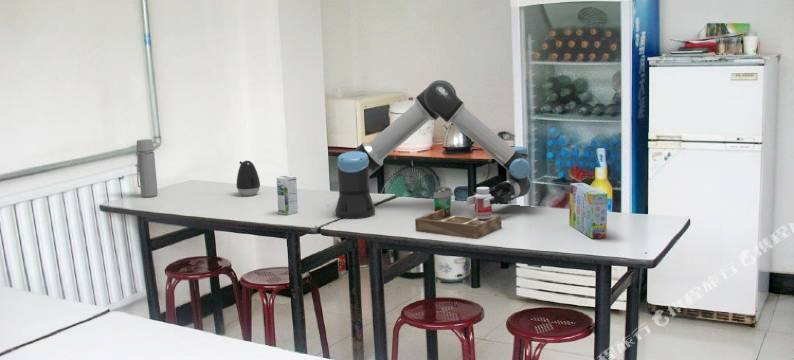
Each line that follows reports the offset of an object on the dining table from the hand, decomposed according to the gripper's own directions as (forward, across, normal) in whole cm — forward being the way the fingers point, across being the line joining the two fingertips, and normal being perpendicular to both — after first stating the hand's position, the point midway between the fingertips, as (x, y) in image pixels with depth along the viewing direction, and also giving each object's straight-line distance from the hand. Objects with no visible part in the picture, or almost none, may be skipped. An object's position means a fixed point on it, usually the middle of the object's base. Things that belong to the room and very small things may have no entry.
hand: (476, 202), depth 303 cm
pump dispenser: (-1, +114, -8) cm, 115 cm away
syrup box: (+20, +73, -8) cm, 76 cm away
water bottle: (+22, +154, -8) cm, 156 cm away
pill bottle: (-5, 0, -7) cm, 8 cm away
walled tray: (+12, 0, -7) cm, 14 cm away
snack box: (-4, -40, -7) cm, 41 cm away
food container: (-4, +16, -7) cm, 18 cm away
